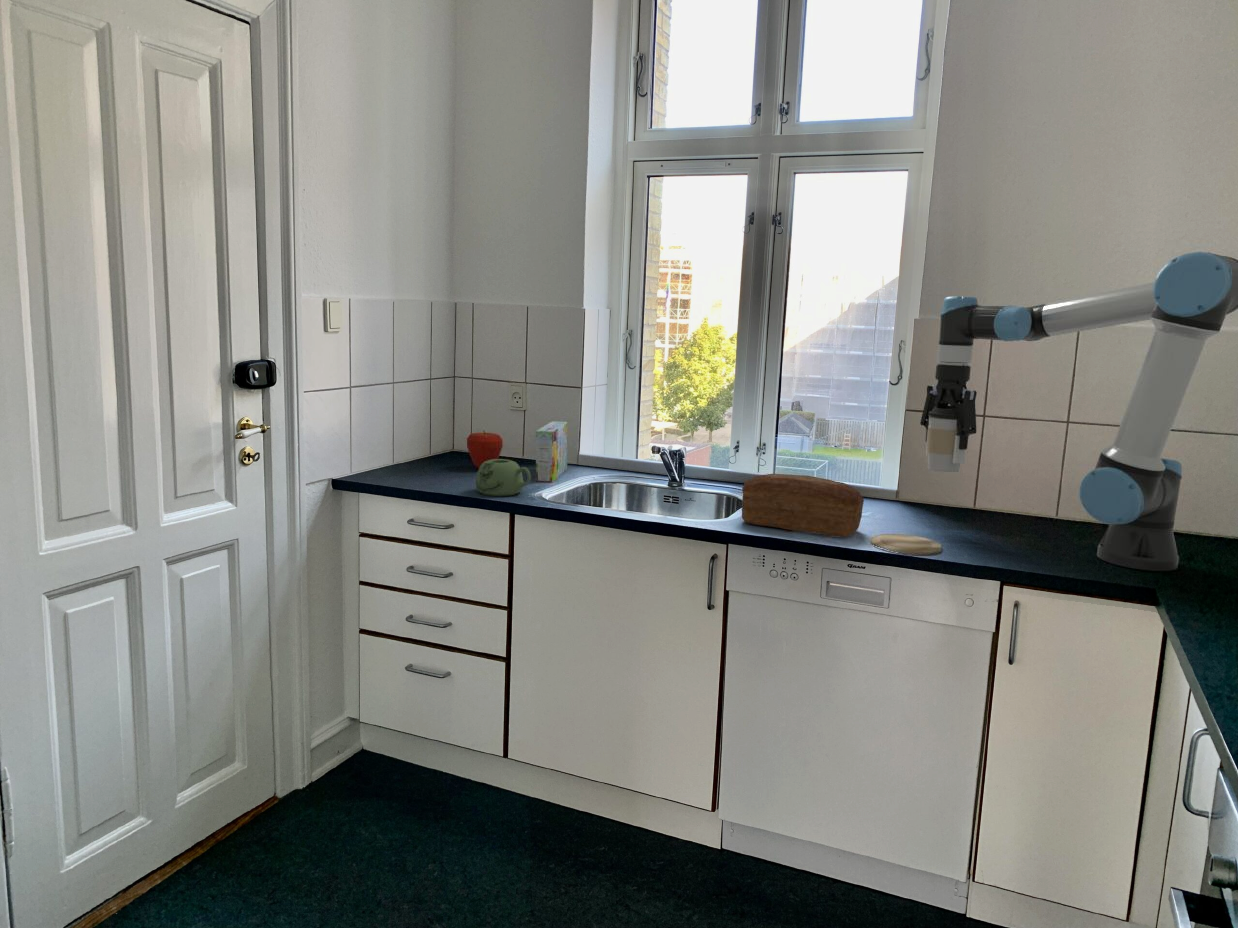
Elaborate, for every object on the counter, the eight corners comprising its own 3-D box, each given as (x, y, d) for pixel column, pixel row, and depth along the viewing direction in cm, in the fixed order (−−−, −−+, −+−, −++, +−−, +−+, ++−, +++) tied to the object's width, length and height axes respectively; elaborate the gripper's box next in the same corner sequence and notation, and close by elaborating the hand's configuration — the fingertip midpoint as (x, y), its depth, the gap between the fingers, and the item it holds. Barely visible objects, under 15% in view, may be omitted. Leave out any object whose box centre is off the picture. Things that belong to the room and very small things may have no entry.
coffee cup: (966, 474, 204) (973, 409, 202) (925, 471, 206) (931, 407, 203) (960, 467, 213) (966, 405, 210) (920, 465, 215) (926, 403, 212)
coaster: (956, 552, 192) (956, 548, 192) (900, 557, 187) (901, 553, 187) (909, 535, 206) (909, 531, 206) (856, 539, 200) (857, 535, 200)
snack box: (550, 469, 274) (551, 420, 271) (567, 470, 273) (569, 421, 271) (534, 481, 253) (535, 429, 251) (553, 482, 253) (554, 430, 250)
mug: (465, 493, 234) (465, 461, 233) (492, 485, 246) (493, 455, 244) (517, 501, 228) (517, 468, 226) (542, 492, 239) (543, 461, 238)
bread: (753, 514, 223) (756, 466, 221) (865, 530, 210) (869, 480, 208) (733, 525, 211) (736, 474, 208) (851, 543, 198) (855, 489, 196)
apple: (485, 473, 262) (485, 433, 260) (458, 469, 268) (458, 429, 266) (509, 468, 271) (510, 430, 269) (483, 464, 277) (483, 426, 275)
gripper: (1001, 367, 197) (990, 467, 201) (934, 361, 216) (925, 452, 220) (974, 367, 194) (964, 468, 198) (909, 360, 213) (901, 452, 217)
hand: (944, 459), depth 209 cm, fingers closed on coffee cup, 8 cm apart
